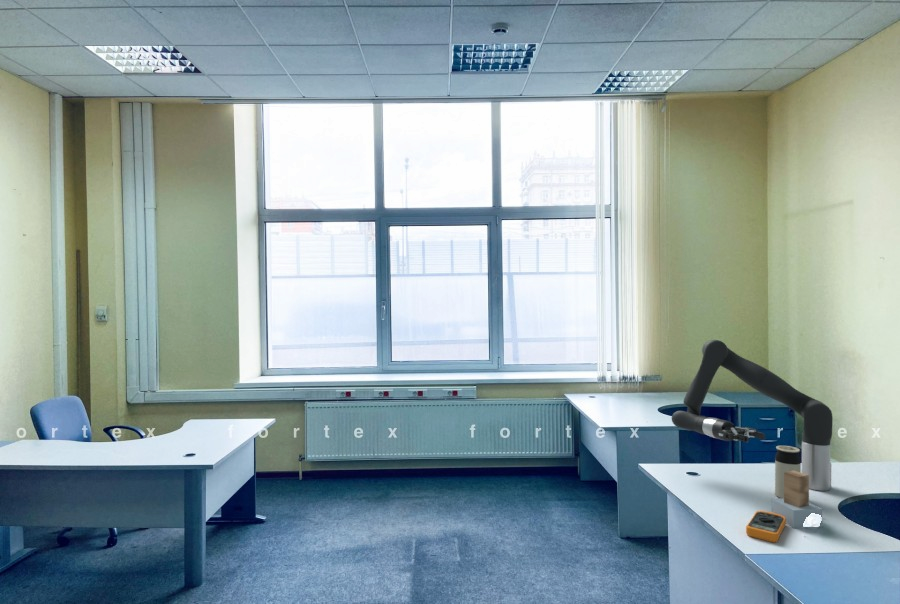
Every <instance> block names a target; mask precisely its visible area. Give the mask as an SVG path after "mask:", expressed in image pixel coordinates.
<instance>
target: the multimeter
mask: <svg viewBox="0 0 900 604" xmlns="http://www.w3.org/2000/svg"><path fill="white" fill-rule="evenodd" d="M786 525H787V524H786V518H785V517H784V516H782V515H779V514H776V513H772V511H771V512H770V511H767V510H757V511H755V513H754V514H753V516H752V518H751V519H750V520H749V522H748V523H747V524H746V527H745V533H746V535H747V536H748V537H750V538H753V539H757V540H762V541H767V542H770V543H777V542H778V541H779V538H780V535H781V534H782V532H783V530H784V528H785V527H786Z"/></svg>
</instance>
